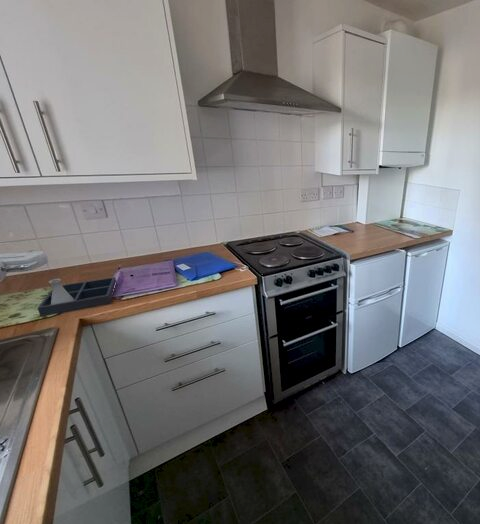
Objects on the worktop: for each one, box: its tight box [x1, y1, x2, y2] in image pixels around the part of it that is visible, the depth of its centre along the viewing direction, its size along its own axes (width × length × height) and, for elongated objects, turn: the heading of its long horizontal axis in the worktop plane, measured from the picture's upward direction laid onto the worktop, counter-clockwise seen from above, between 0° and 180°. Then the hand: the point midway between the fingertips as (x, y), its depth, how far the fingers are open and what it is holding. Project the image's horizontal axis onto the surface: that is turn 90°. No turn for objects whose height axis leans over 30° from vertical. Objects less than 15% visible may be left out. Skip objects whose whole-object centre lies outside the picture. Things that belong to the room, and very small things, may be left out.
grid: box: [37, 276, 118, 317], centre depth 115 cm, size 19×19×4 cm
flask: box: [48, 278, 74, 305], centre depth 108 cm, size 7×7×10 cm
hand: (15, 254), depth 90 cm, fingers open, 8 cm apart
